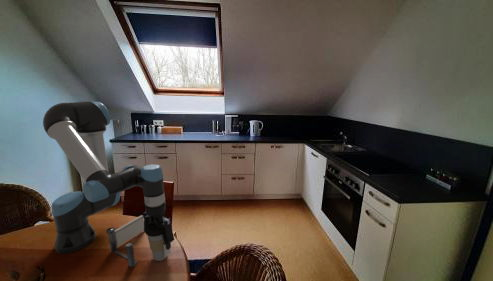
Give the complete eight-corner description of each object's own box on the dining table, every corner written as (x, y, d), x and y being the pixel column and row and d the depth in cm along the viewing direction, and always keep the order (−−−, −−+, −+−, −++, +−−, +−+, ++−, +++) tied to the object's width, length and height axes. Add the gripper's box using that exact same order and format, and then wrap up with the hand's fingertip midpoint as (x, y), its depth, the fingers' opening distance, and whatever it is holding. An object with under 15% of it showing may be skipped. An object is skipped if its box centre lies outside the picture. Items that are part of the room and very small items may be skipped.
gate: (117, 246, 98) (115, 231, 96) (116, 245, 98) (113, 230, 97) (144, 229, 110) (143, 215, 108) (143, 228, 110) (141, 215, 109)
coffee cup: (164, 265, 88) (161, 233, 84) (143, 262, 89) (139, 230, 86) (176, 249, 97) (173, 219, 93) (157, 246, 98) (154, 216, 95)
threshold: (114, 252, 96) (114, 251, 96) (117, 250, 97) (117, 250, 97) (135, 263, 90) (135, 263, 90) (137, 262, 90) (137, 261, 90)
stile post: (128, 266, 89) (125, 245, 86) (132, 263, 90) (129, 242, 88) (131, 267, 88) (128, 246, 85) (135, 265, 89) (132, 244, 87)
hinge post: (108, 251, 96) (104, 230, 94) (115, 246, 99) (112, 226, 97) (112, 254, 95) (109, 232, 92) (119, 249, 98) (116, 228, 95)
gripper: (130, 200, 88) (136, 248, 94) (166, 214, 79) (171, 266, 84) (145, 193, 95) (151, 238, 100) (181, 205, 86) (185, 253, 91)
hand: (160, 251), depth 92 cm, fingers closed on coffee cup, 8 cm apart
